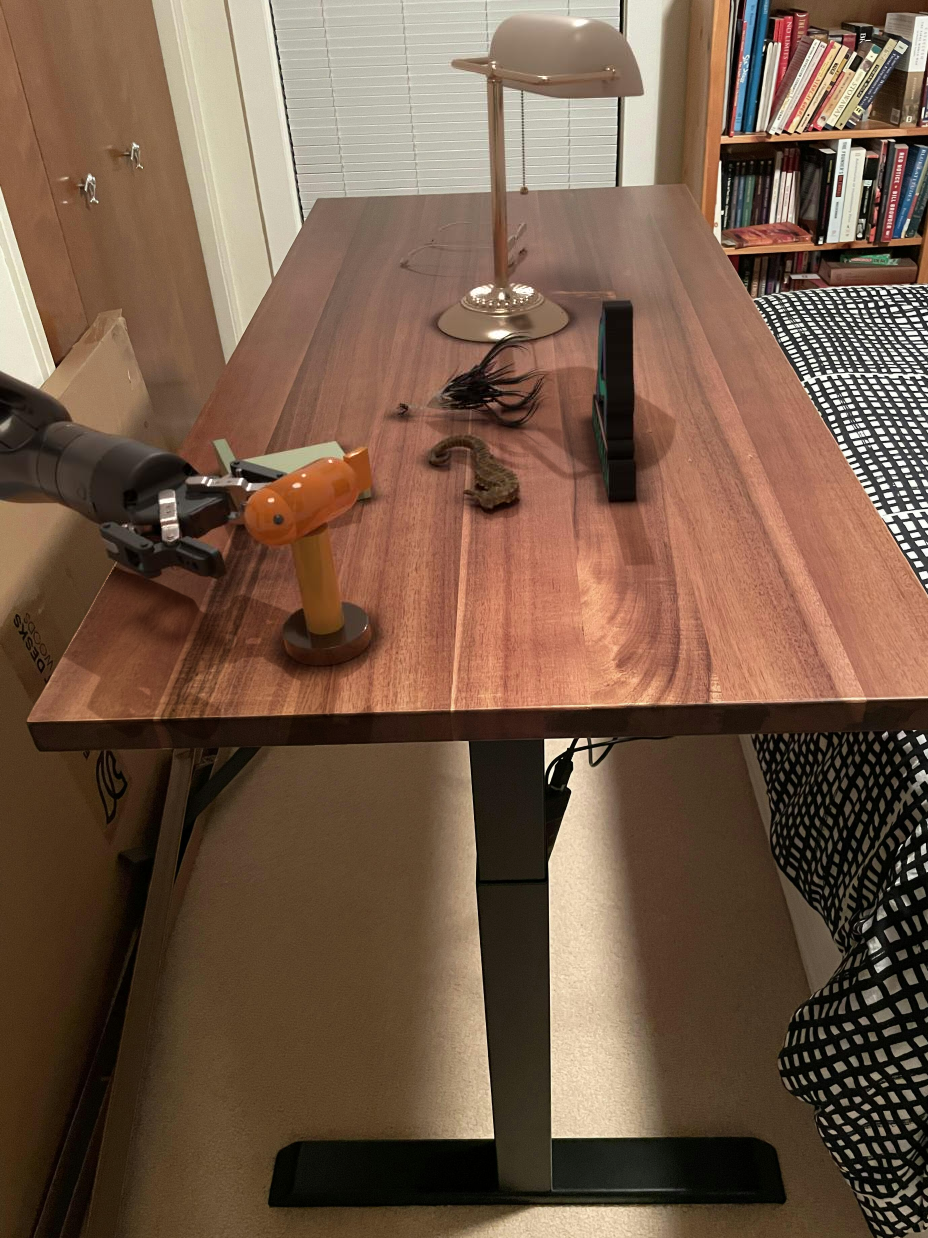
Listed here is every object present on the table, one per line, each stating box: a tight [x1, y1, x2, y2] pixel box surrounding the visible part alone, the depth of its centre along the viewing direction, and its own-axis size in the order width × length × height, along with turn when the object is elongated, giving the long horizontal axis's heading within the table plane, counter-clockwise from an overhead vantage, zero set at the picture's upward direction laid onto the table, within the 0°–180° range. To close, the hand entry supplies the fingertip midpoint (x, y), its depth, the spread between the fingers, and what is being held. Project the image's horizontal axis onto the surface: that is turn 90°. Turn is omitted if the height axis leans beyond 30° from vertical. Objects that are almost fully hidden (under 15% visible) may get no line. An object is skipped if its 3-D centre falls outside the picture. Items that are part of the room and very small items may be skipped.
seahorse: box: [427, 433, 521, 510], centre depth 93 cm, size 6×15×2 cm, turn 24°
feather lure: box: [396, 331, 556, 428], centre depth 103 cm, size 9×18×8 cm, turn 83°
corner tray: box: [212, 438, 372, 526], centre depth 93 cm, size 12×12×4 cm
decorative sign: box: [591, 299, 637, 501], centre depth 92 cm, size 19×2×15 cm, turn 1°
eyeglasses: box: [399, 221, 527, 266], centre depth 157 cm, size 15×18×4 cm
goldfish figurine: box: [239, 445, 373, 667], centre depth 69 cm, size 11×6×14 cm, turn 144°
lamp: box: [436, 12, 645, 343], centre depth 122 cm, size 26×24×34 cm
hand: (265, 540), depth 71 cm, fingers open, 8 cm apart
